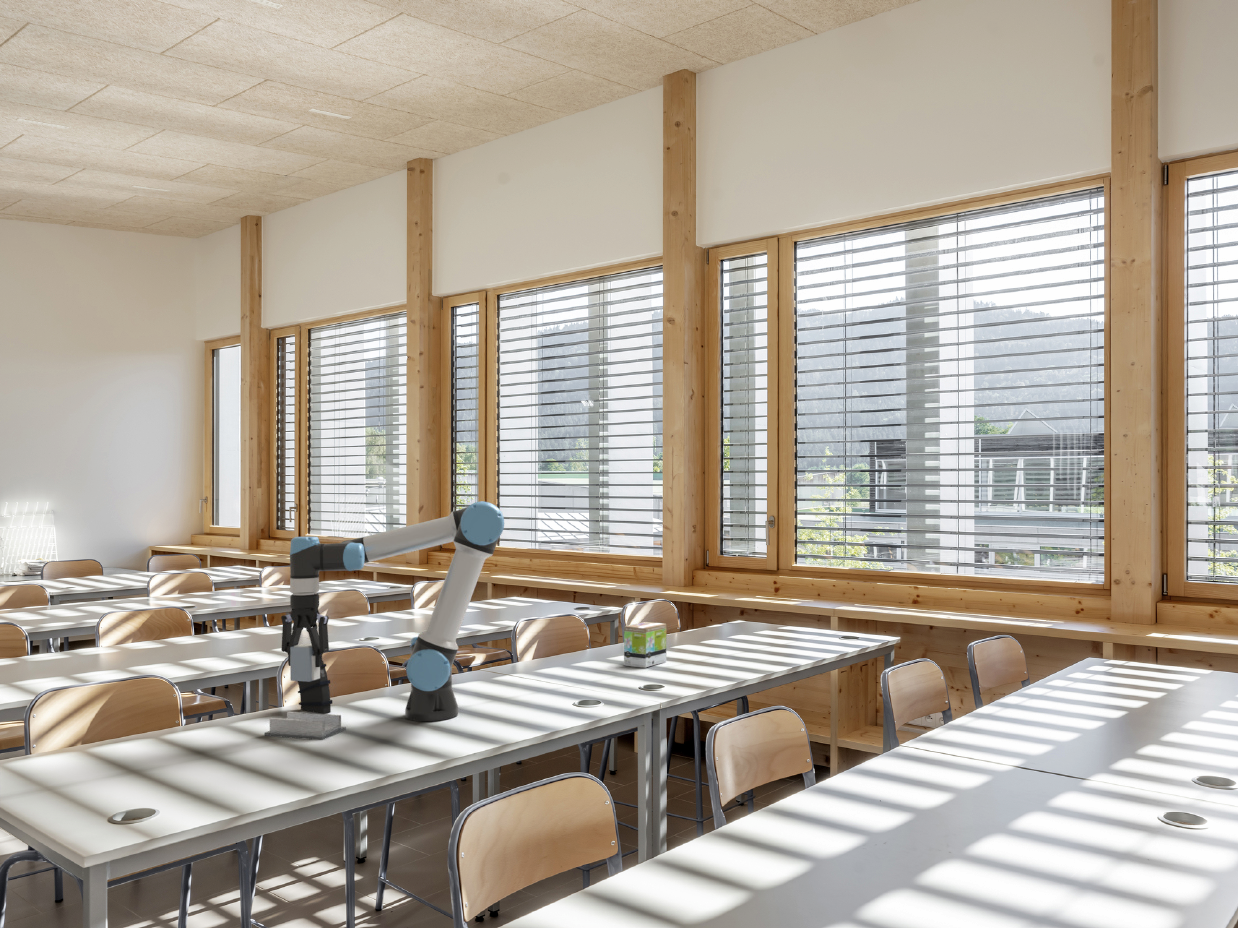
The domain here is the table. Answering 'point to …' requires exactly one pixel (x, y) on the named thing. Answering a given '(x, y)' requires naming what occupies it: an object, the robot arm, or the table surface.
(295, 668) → the block
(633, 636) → the tea box
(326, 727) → the grey piece
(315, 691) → the magazine
